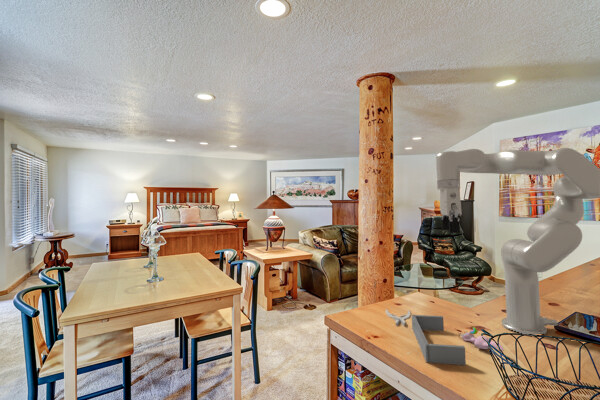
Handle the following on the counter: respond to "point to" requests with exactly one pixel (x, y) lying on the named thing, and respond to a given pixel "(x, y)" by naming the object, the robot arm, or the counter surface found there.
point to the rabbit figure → (477, 339)
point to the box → (436, 351)
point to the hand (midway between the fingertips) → (450, 231)
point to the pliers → (399, 318)
